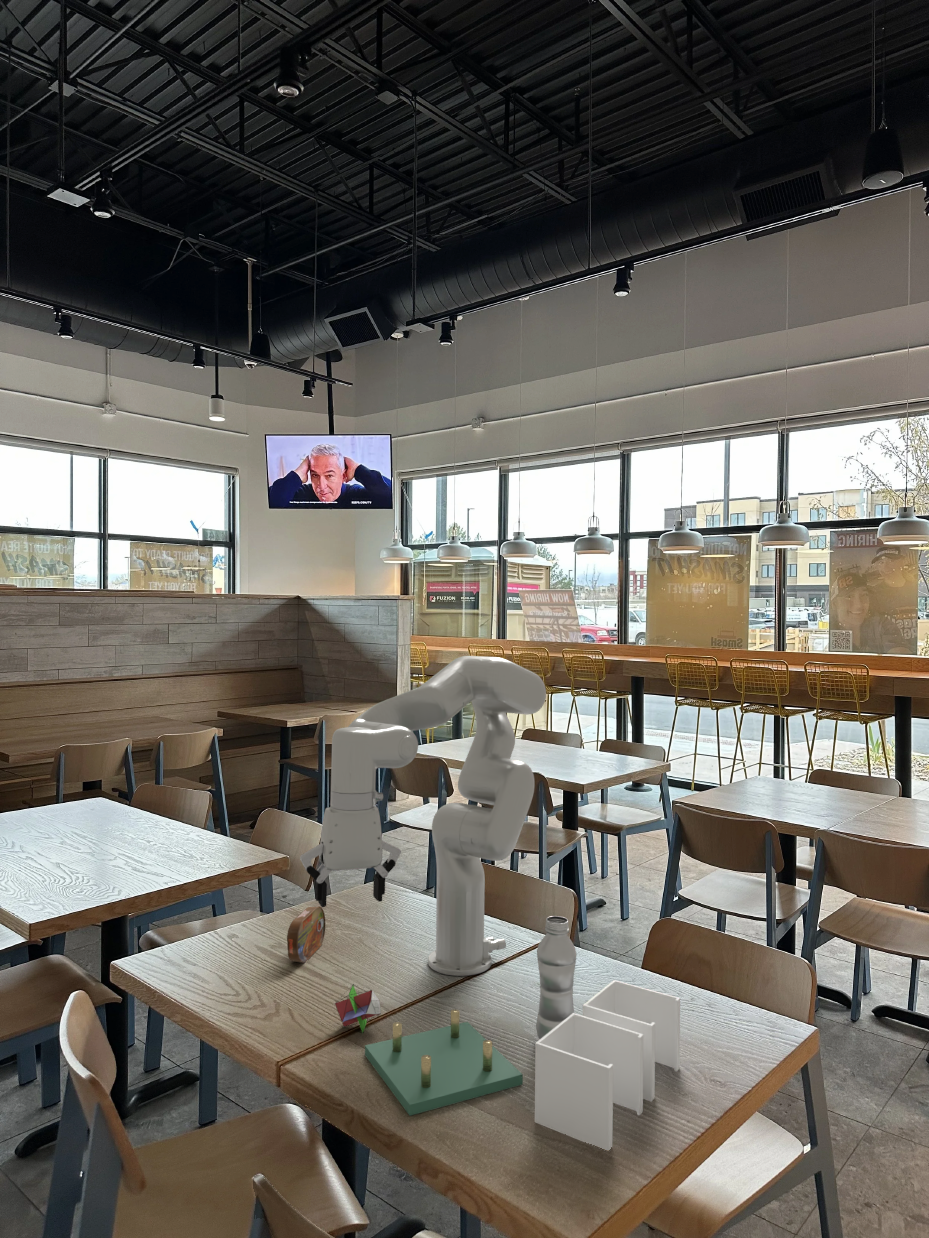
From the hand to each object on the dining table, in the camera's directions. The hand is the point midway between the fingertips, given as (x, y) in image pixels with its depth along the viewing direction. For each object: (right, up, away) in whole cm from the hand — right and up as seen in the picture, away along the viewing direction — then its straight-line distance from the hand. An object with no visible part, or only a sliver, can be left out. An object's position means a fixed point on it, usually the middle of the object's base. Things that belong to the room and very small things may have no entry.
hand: (350, 901), depth 144 cm
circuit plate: (+16, -20, -15) cm, 30 cm away
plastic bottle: (+34, -21, -7) cm, 41 cm away
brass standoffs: (+16, -19, -15) cm, 29 cm away
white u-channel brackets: (+41, -21, -21) cm, 50 cm away
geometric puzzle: (+2, -21, -2) cm, 21 cm away
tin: (-13, -20, +29) cm, 37 cm away
